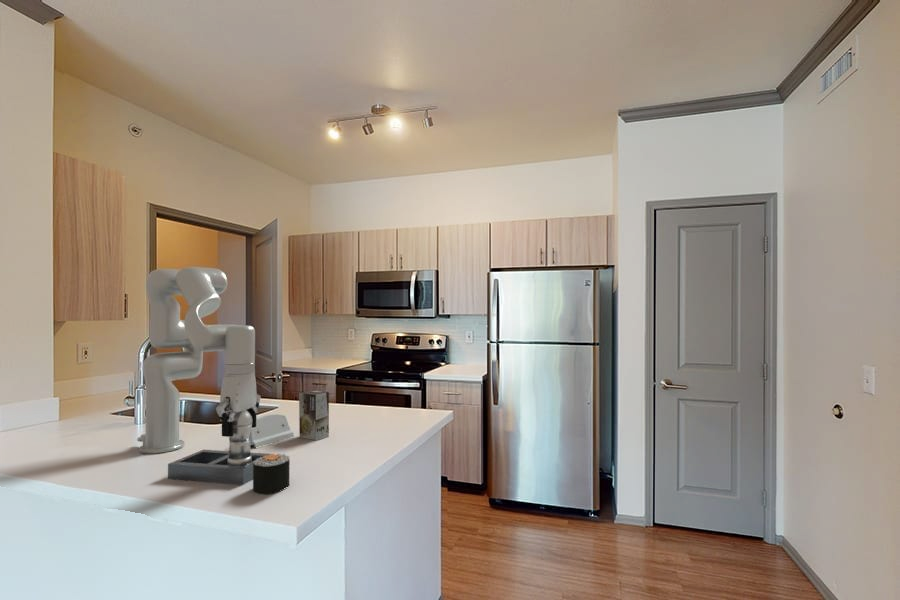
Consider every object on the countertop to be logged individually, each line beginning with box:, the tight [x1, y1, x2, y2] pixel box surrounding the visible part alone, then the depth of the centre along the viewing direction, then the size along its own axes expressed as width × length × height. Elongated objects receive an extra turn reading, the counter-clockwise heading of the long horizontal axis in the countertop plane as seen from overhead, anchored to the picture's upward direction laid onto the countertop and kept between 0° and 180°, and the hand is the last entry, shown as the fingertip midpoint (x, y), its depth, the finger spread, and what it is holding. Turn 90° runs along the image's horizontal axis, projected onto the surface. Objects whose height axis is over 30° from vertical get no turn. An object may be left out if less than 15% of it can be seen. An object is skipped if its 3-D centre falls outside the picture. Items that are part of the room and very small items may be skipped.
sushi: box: [252, 453, 291, 495], centre depth 115 cm, size 8×8×8 cm
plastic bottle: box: [227, 410, 253, 466], centre depth 125 cm, size 6×7×20 cm
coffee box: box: [298, 389, 330, 441], centre depth 163 cm, size 9×6×16 cm
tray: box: [167, 449, 271, 485], centre depth 126 cm, size 23×13×4 cm, turn 79°
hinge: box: [250, 414, 295, 448], centre depth 158 cm, size 17×5×10 cm, turn 151°
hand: (239, 431), depth 125 cm, fingers open, 9 cm apart
